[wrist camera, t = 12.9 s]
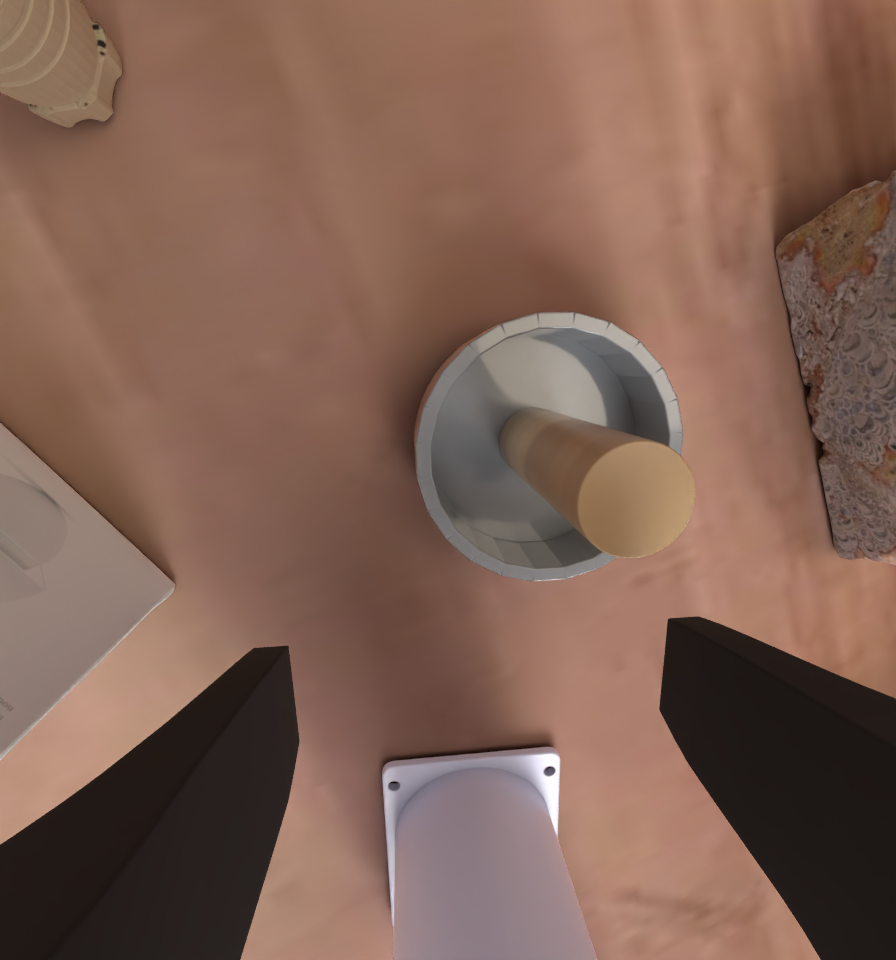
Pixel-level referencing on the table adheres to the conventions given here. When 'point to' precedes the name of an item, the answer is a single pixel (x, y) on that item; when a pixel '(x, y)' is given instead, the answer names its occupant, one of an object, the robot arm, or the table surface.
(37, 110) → the handle
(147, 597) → the cosmetics box
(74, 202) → the table surface
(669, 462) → the stick
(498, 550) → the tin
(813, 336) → the geological specimen
